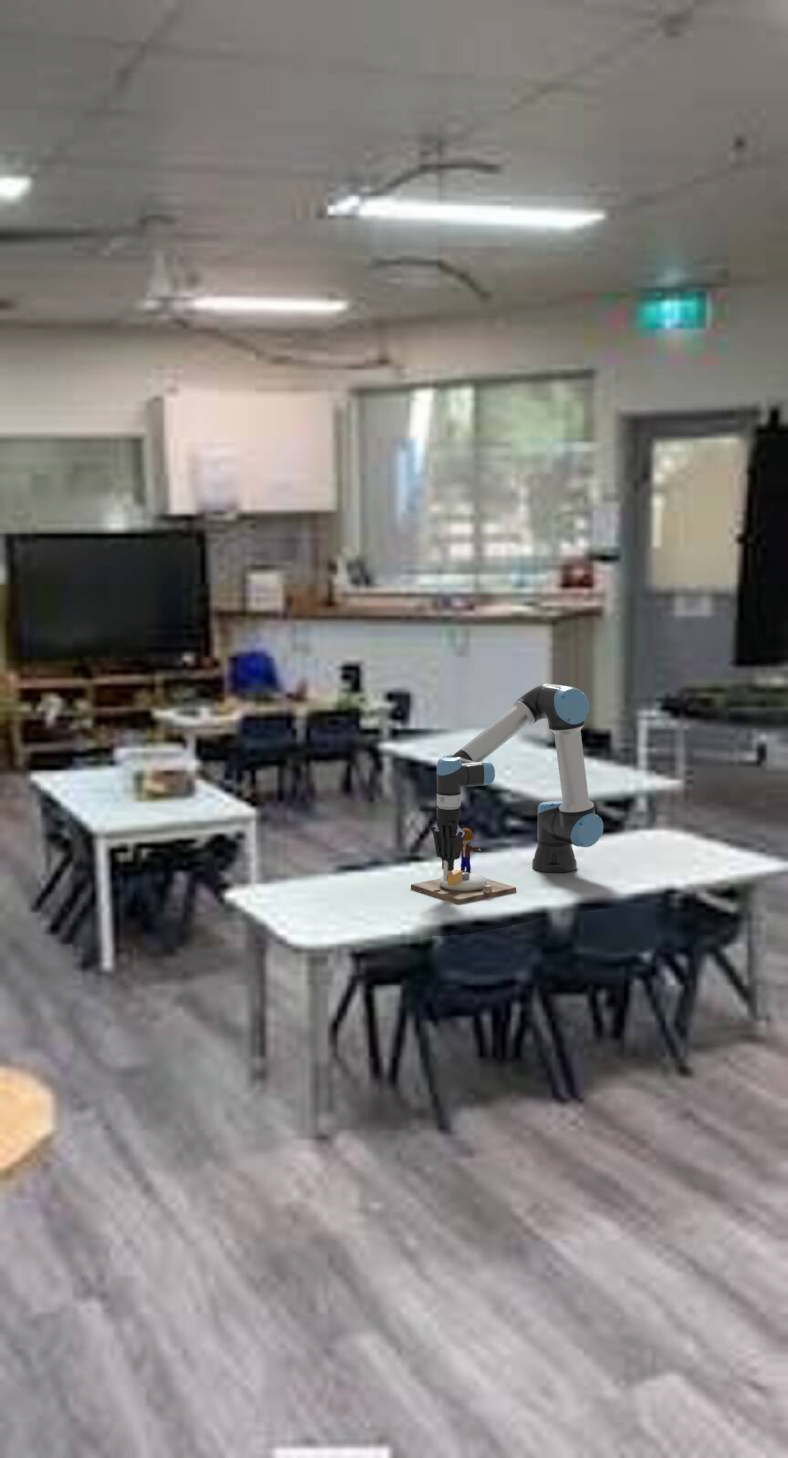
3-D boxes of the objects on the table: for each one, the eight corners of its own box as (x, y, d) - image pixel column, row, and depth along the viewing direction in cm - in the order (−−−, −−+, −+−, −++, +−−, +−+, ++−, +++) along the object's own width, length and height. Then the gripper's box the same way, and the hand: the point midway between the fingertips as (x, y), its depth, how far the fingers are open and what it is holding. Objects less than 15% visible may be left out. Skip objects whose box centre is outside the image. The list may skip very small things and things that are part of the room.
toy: (447, 871, 487) (447, 828, 485) (454, 868, 492) (454, 825, 490) (477, 875, 482) (477, 831, 480) (483, 871, 487) (483, 828, 485)
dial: (451, 877, 472) (451, 861, 471) (494, 882, 465) (494, 865, 464) (428, 889, 456) (428, 872, 456) (472, 894, 450) (472, 877, 449)
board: (467, 877, 479) (467, 867, 478) (516, 891, 460) (516, 881, 459) (410, 888, 464) (410, 878, 464) (458, 904, 446) (458, 893, 445)
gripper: (425, 805, 454) (424, 878, 457) (456, 811, 445) (455, 886, 448) (440, 802, 459) (440, 874, 463) (472, 808, 450) (471, 881, 454)
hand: (447, 880), depth 455 cm, fingers closed
